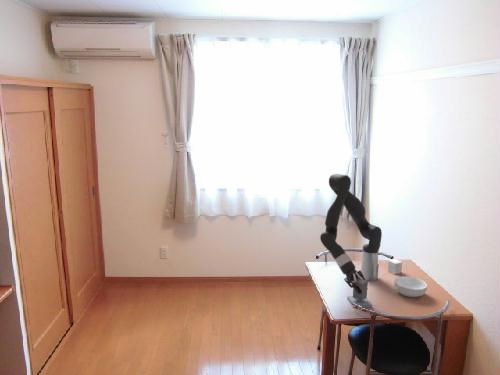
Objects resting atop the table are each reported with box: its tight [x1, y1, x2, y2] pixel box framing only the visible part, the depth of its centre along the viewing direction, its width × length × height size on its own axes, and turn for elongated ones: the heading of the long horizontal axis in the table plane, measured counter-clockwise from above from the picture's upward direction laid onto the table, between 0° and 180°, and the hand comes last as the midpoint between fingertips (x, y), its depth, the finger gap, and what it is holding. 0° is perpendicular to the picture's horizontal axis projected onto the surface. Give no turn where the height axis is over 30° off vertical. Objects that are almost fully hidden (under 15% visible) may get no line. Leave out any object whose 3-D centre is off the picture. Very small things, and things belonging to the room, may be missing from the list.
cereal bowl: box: [394, 275, 428, 298], centre depth 223 cm, size 17×17×7 cm
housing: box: [352, 278, 369, 301], centre depth 211 cm, size 5×5×10 cm
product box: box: [387, 258, 403, 275], centre depth 254 cm, size 6×6×7 cm
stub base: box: [346, 295, 373, 309], centre depth 212 cm, size 10×10×6 cm
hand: (363, 291), depth 210 cm, fingers closed on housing, 5 cm apart
